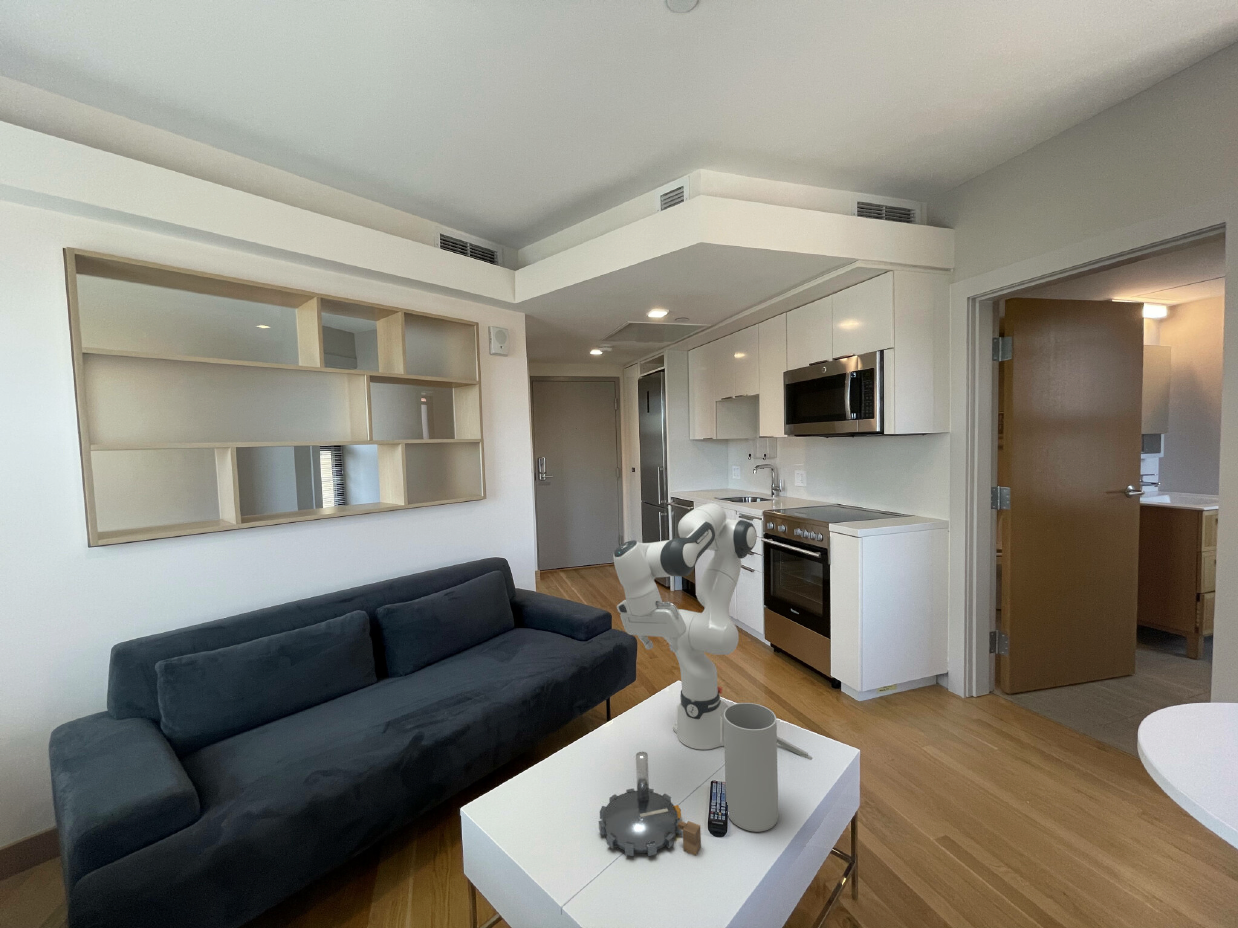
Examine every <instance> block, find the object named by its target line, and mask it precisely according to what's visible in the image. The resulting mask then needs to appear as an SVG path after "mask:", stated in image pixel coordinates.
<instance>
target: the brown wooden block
mask: <svg viewBox="0 0 1238 928" xmlns="http://www.w3.org/2000/svg"><path fill="white" fill-rule="evenodd" d="M678 829H681V830H682V841H683V842H682V844H683V845H682V846H683V847H682V848H683V849H682V850H683V851H684V852H686V853H688V854H691V855H692V856H697V855H698V853H699V851H700V849H701V847H702V836H701V835H702V833H701V825H700V824H697V823H695V822H692V821H690V820H688V821H687V822H685V821H683V820H682V821H679V823H678Z"/></svg>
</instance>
